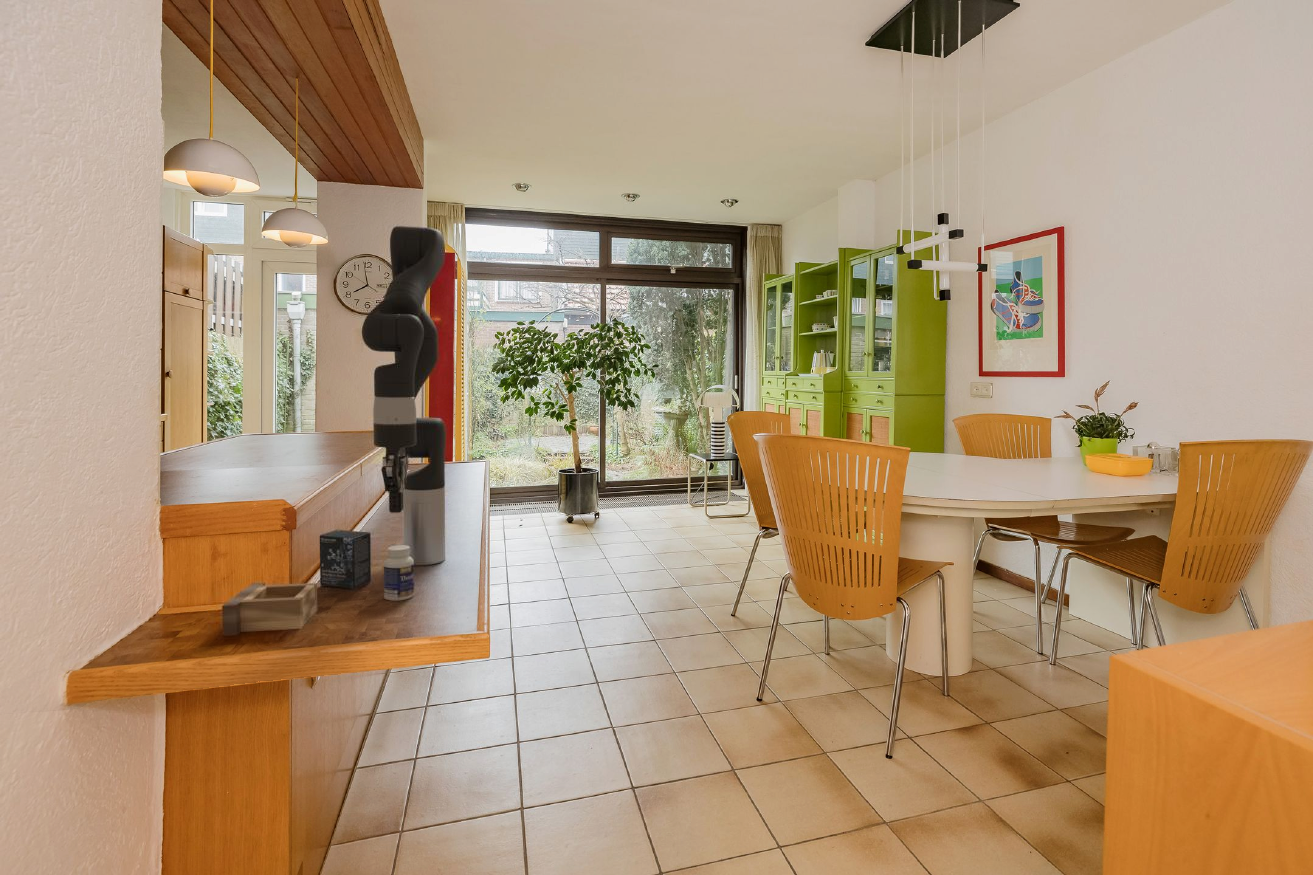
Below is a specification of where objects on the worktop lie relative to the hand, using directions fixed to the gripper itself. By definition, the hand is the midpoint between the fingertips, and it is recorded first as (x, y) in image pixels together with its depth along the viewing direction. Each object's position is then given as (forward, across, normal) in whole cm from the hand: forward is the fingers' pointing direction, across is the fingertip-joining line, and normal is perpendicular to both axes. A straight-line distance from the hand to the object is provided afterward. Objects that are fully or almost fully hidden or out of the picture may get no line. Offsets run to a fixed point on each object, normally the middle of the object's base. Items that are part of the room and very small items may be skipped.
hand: (396, 511), depth 123 cm
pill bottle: (+17, 0, 0) cm, 17 cm away
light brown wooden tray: (+17, -10, +17) cm, 26 cm away
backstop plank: (+17, -11, +22) cm, 30 cm away
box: (+17, +10, +12) cm, 23 cm away
